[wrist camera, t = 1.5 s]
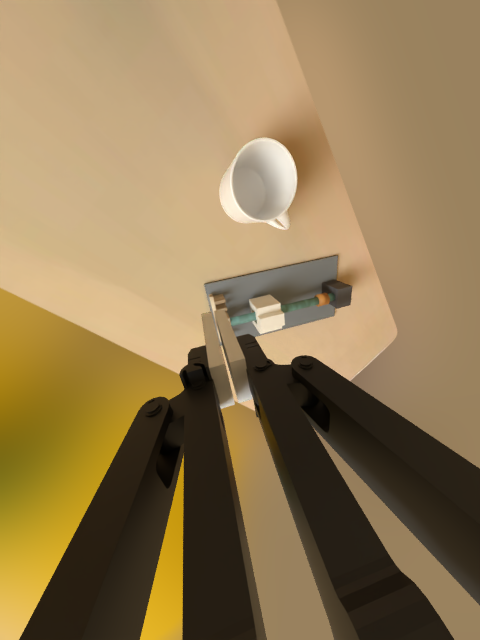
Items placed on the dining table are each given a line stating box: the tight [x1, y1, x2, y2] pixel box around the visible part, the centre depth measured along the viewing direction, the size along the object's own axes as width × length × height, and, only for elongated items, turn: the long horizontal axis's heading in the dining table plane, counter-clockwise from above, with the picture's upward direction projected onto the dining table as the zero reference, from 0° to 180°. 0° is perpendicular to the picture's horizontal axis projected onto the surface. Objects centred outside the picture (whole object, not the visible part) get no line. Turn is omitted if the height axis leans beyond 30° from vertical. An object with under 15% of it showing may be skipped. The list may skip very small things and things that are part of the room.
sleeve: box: [249, 295, 285, 334], centre depth 38 cm, size 5×4×7 cm
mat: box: [204, 255, 338, 346], centre depth 43 cm, size 14×28×1 cm, turn 100°
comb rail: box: [209, 280, 352, 342], centre depth 41 cm, size 10×27×6 cm, turn 100°
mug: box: [219, 138, 297, 230], centre depth 30 cm, size 9×12×11 cm
